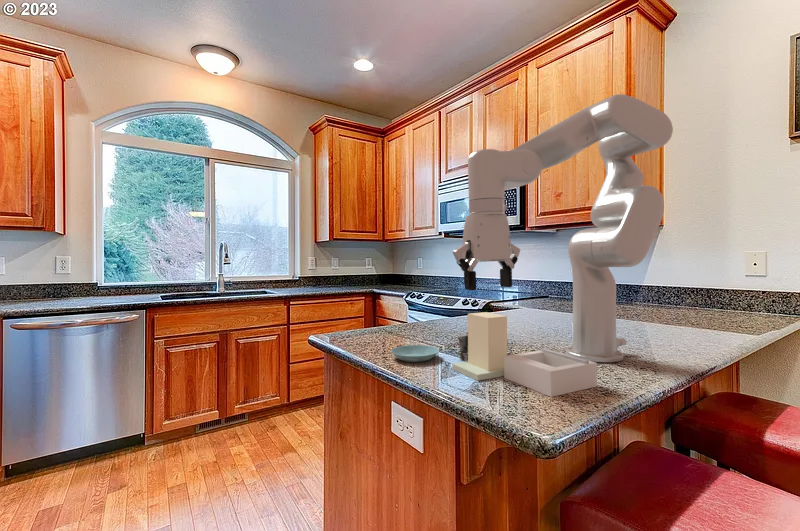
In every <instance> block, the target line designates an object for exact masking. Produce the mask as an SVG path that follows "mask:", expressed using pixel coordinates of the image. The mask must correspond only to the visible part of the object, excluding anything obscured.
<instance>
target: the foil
mask: <svg viewBox="0 0 800 531" xmlns="http://www.w3.org/2000/svg"><path fill="white" fill-rule="evenodd" d="M457 339H458V343H459V344H458V345H459V349H460V350H459V351H458V352H457V354H458V356H459V359H460V360H463V362H467V361H468V332H466V333H465V334H463V333H462V334H460V335H457ZM508 342H509V341H508V339H507V346H508V344H509V343H508Z"/></svg>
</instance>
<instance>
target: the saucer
mask: <svg viewBox="0 0 800 531" xmlns="http://www.w3.org/2000/svg"><path fill="white" fill-rule="evenodd" d="M439 352H440V350H439V348H438V347H434V346H431V345H424V344H423V345H422V344H421V345H420V344H418V345H417V344H411V345H410V344H409V345H402V346H397V347H394V348H391V350H390V353H392V355H394V356H395V357H396V358H398V359H399V360H400V361H403V362H407V363H421V362H422V363H423V361H424V362H427V361H429V360H432V359H433V358H434V357H435V356H437V354H438V353H439Z"/></svg>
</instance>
